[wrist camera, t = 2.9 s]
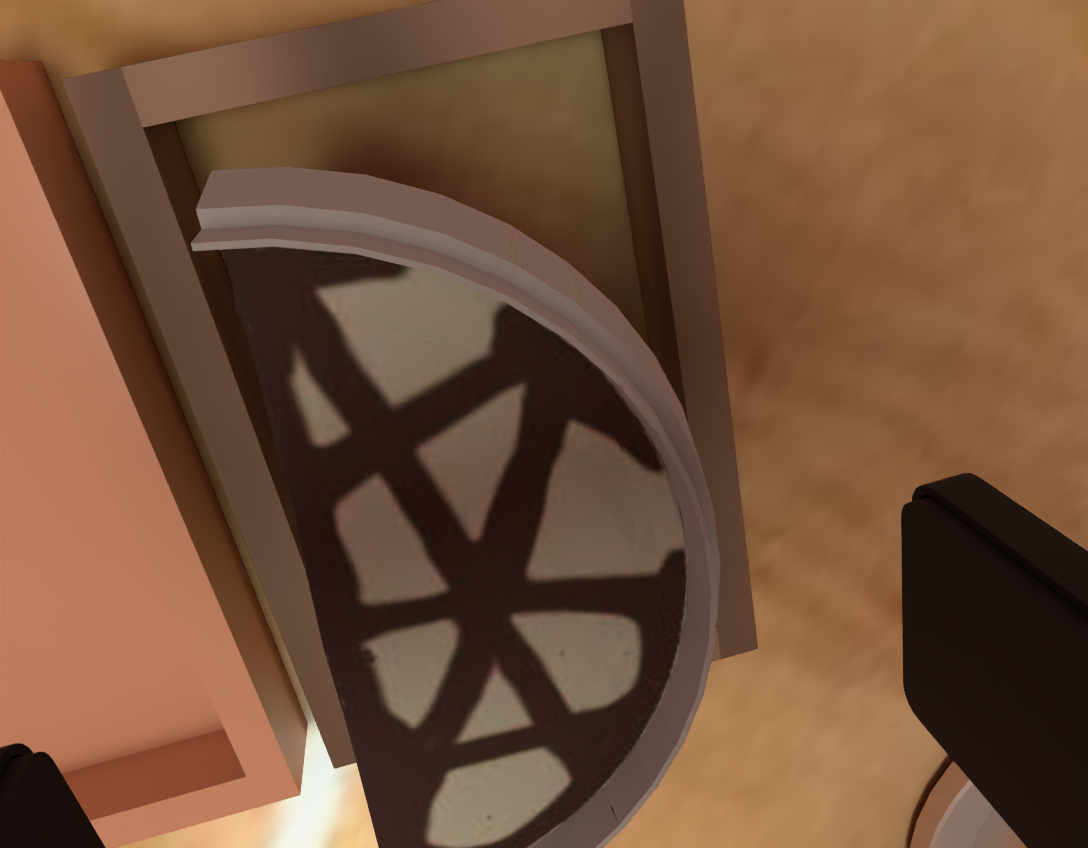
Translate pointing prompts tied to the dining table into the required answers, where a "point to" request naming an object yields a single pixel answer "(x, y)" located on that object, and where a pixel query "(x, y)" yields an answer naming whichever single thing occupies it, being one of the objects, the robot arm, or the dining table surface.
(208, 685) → the terracotta tray
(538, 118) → the dining table surface
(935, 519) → the robot arm
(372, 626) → the food container
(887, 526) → the dining table surface
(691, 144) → the walnut stand frame
